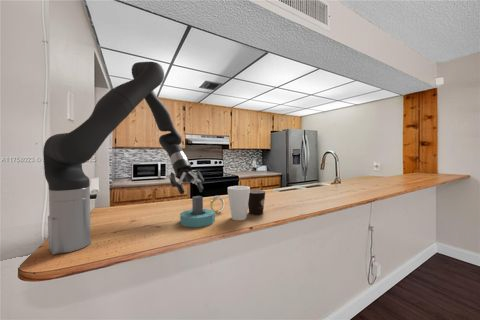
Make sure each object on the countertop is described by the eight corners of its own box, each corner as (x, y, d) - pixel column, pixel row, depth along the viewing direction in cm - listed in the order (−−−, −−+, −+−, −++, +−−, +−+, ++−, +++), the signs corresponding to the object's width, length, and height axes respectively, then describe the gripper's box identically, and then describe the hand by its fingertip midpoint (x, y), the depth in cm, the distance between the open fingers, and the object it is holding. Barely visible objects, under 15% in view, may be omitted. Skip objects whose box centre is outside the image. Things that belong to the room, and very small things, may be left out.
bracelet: (211, 214, 93) (211, 196, 93) (209, 212, 96) (209, 195, 95) (225, 212, 96) (225, 195, 96) (223, 210, 99) (223, 194, 98)
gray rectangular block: (196, 223, 81) (195, 197, 81) (192, 221, 83) (192, 196, 83) (202, 221, 83) (202, 196, 83) (199, 219, 85) (198, 195, 85)
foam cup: (254, 218, 87) (254, 187, 87) (238, 223, 81) (238, 190, 81) (239, 213, 94) (239, 185, 94) (223, 217, 88) (223, 187, 88)
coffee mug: (253, 216, 89) (253, 193, 89) (243, 212, 96) (243, 190, 96) (274, 213, 94) (274, 191, 94) (263, 208, 102) (263, 188, 102)
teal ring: (195, 229, 74) (194, 220, 74) (173, 222, 82) (173, 213, 82) (221, 220, 84) (221, 212, 84) (199, 214, 92) (199, 207, 92)
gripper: (167, 158, 88) (179, 188, 79) (197, 158, 97) (210, 184, 88) (163, 170, 92) (173, 199, 83) (192, 168, 101) (204, 195, 92)
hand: (192, 192), depth 86 cm, fingers open, 8 cm apart
